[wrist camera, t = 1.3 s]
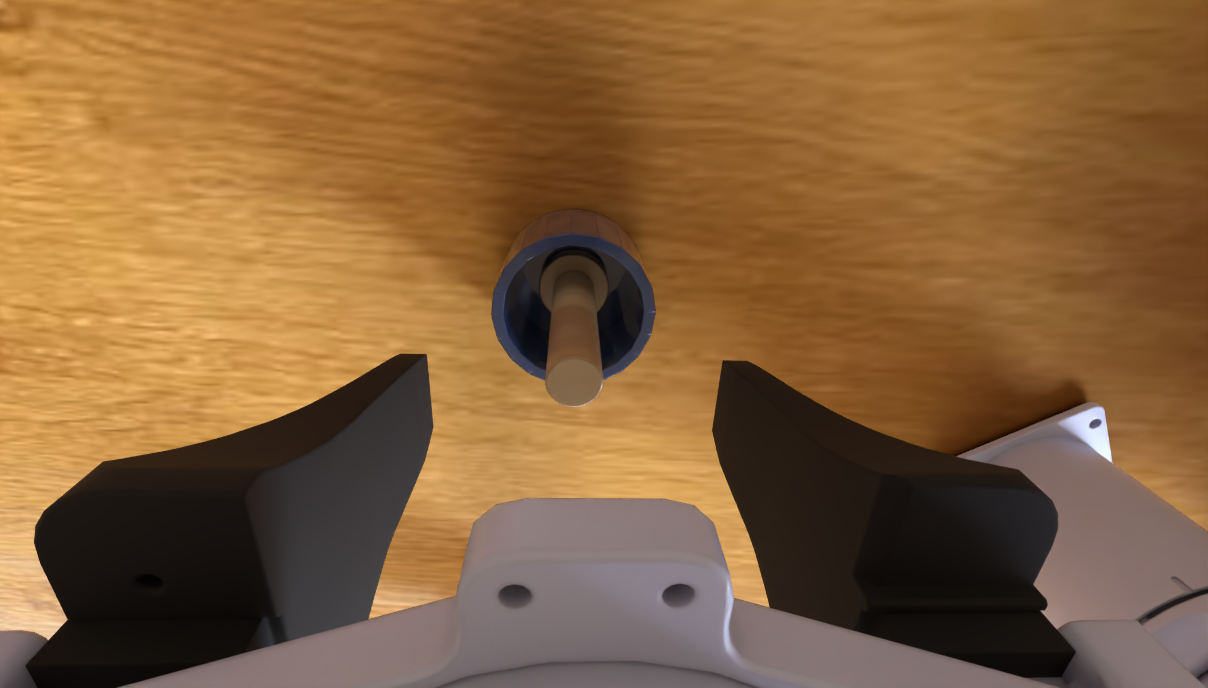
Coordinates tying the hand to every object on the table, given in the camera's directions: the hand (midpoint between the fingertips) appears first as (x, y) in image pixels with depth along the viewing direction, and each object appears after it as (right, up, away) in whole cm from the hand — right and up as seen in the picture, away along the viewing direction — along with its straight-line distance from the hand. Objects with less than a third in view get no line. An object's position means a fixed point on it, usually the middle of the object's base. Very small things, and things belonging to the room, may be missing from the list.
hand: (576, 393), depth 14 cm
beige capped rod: (0, +4, +8) cm, 9 cm away
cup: (-1, +4, +8) cm, 9 cm away
